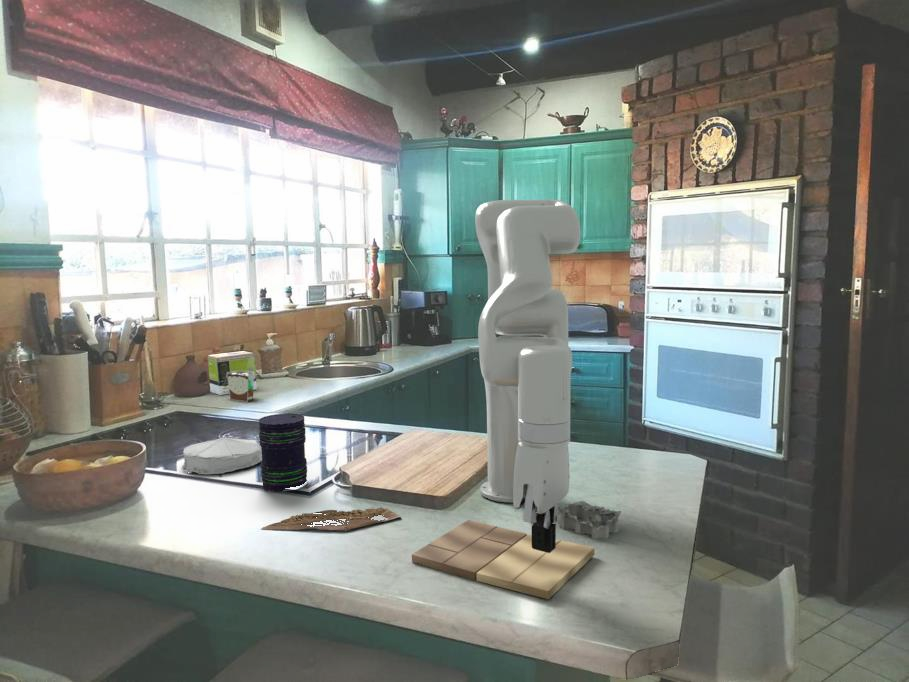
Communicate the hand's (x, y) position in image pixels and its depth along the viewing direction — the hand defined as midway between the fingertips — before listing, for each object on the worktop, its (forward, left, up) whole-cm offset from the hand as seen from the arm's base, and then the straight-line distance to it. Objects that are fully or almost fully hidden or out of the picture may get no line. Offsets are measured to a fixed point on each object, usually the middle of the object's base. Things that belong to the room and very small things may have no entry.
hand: (543, 548), depth 100 cm
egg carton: (-23, -2, -6) cm, 24 cm away
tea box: (-76, -170, -6) cm, 187 cm away
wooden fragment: (0, -44, -6) cm, 44 cm away
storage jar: (-10, -68, -5) cm, 69 cm away
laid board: (-3, -15, -5) cm, 16 cm away
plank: (-3, -3, -5) cm, 7 cm away
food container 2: (-68, -153, -5) cm, 168 cm away
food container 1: (-14, -94, -6) cm, 95 cm away
